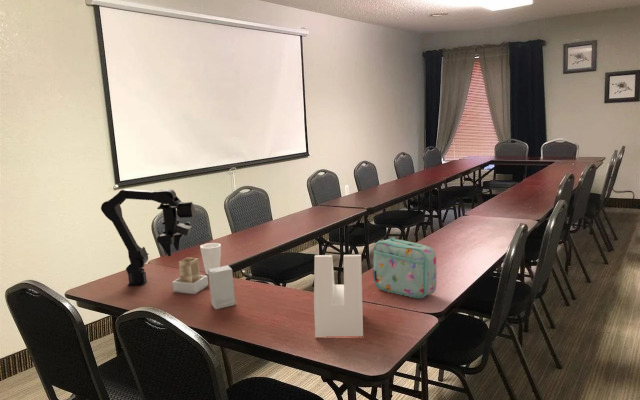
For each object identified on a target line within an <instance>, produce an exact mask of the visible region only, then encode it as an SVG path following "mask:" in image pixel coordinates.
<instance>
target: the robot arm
mask: <svg viewBox="0 0 640 400" xmlns="http://www.w3.org/2000/svg"><path fill="white" fill-rule="evenodd" d="M126 200H139V201H140V200H142V201H143V200H144V201H153V202H156V203H160V204H159V206H158V207H157V210H162V216H163V217H162V219H163V221H161V225H163V227H164V230H163V231H162V234H159V235H158V236H157V237H156V241H157V243H158V245H160V246H161V247H162V248H163V250H164V252H165V253H166V255H167V256H168V257H171V256H172V249H173V248H172V247H173V246H174V248H175V250H176V251H179V250H180V243H181V239H182V237H184V236H188V235H190V234H191V230H192V229H193V228H192V227H193V226H192V224H191V222H189V221H186V222H185V223H181V221H180V219H186V218H195V216H196V215H195V213H196V212H195V211H196V210H195V206H194V204H193V201H187V202H182V201H181V199H180V198H179V197H178V196H177V194H176V191H175V190H174V189H171V188H168V189H167V188H166V189H159V190H145V189H128V188H124V189H120V190H119V192H118V193H117V194H115V195H114V196H113V197H112V198H110V199H108V200H106V201H104V202H103V203H102V204H101V207H100V210H101V212H102V214H103V215H104V216H105V217H106V218H107V219H108V220H109V221H111V222H112V224H113V226H114V227H115V229H116V231H117V233H118V235H119V237H120V238H121V241H122V243H123V244H124V246H125V248H126V249H127V253H128V260H129V262H130V263H129V265H127V266H126V268H125V270H126V272H127V275H128V276H127V277H128V283H127V286H142V285H143V284H145V283H146V282H147V281H148V279H147V274H146V271H145V265H146V264H147V263H148V261H149V253H148V252H147V251H146V248H145V246H143V247H141V246H140V245H139V244H138V243H137V242H136V241H137V240H135V237H134V236H133V234H132V232H131V229H129V226H128V225H127V223H126V221H125V219H124V217H123V211H122V207H121V205H122V204H123V203H124V202H125V201H126ZM178 217H179V218H180V219H178ZM172 244H173V245H172Z"/></svg>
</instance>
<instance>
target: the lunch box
mask: <svg viewBox="0 0 640 400" xmlns="http://www.w3.org/2000/svg"><path fill="white" fill-rule="evenodd" d="M372 253H373V254H372V255H373V257H372V261H371V266H372V279H373V283H374V285H375V287H376V288H377V289H379V290H381V291H383V292H386V291H387V293H390V292H391V293H390V294H394V293H395V295H398V294H399V295H400V296H403V295H404V297H407V296H409V297H408V298H412V297H413V299H423V298H425V297H426V296H428V295H432V294H434V293H435V292H436V289H437V253H436V251H435V249H434V248H433V247H430V246H428V245H424V244H422V243H418V242H412V241H408V240H404V239H396V237H395V236H392V237H389V239H388V238H387V239H384V240H378V241H377V242H375V244H374V246H373V249H372ZM399 295H398V296H399Z"/></svg>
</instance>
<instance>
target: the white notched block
mask: <svg viewBox="0 0 640 400" xmlns="http://www.w3.org/2000/svg"><path fill="white" fill-rule="evenodd" d="M313 265H314V271H313V272H314V274H313V276H314V278H313V280H314V284H313V285H314V286H313V309H314V310H313V311H314V331H315V332H314V335H315V337H326V336H363V337H364V321H363V319H364V316H363V313H364V312H363V279H362V278H363V277H362V274H363V273H362V254H343V284H336V283H335V273H334V272H335V271H334V261H333V254H322V255H321V254H320V255H319V254H317V255H316V254H315V255H314V264H313Z"/></svg>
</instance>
